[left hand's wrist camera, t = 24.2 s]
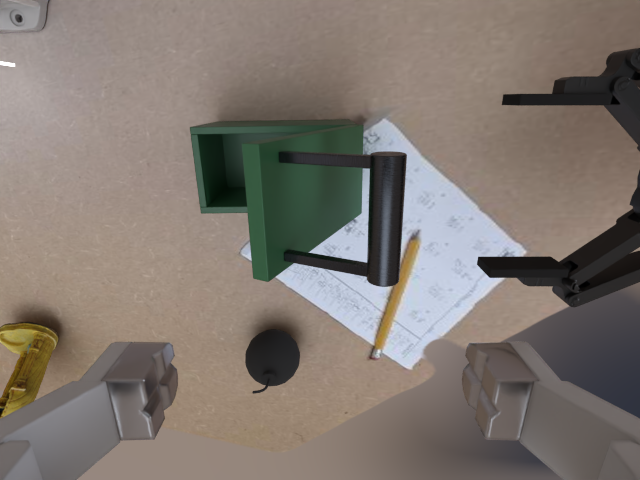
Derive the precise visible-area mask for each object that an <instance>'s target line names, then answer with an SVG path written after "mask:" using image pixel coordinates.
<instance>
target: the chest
mask: <svg viewBox="0 0 640 480" xmlns="http://www.w3.org/2000/svg"><path fill="white" fill-rule="evenodd" d="M347 125H357V124H355V123H354V122H352V121H351V120H349V119H338V120H281V121H224V122H213V123H208V124H203V125H198V126H194V127H190V132H191V140H192V148H193V155H194V163H195V171H196V178H197V186H198V194H199V201H200V209H201V213H248V210H247V199H246V187H245V175H244V164H243V152H242V143H246V142H252V141H258V140H264V139H270V138H276V137H282V136H288V135H294V134H300V133H306V132H312V131H318V130H324V129H330V128H336V127H342V126H347Z"/></svg>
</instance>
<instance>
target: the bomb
mask: <svg viewBox="0 0 640 480" xmlns="http://www.w3.org/2000/svg"><path fill="white" fill-rule="evenodd" d="M299 359H300V352H299V349H298V346H297V343H296V341H295V340H294V339H293V338H292V337H291V336H290V335H289V334H287V333H286V332H284V331H281V330H276V329H274V330H267V331H264V332H262V333H259V334H258V335H257V336H256V337H255V338H254V339H253V340H252V341H251V342H250V344H249V346H248V348H247V351H246V362H245V363H246V367H247V369H248V372H249V374H250V375H251V376H252V377H253V379H254V380H255V381H257V382H259V383H261V384H263V385H266V386H265V388H264V389H262V390H258V391H253V393H260V392H263V391H264V390H266V389H267V387H268V386H277V385H280V384H283V383H285V382H286V381H288V380H289V379H290V378H291V377H292V376H293V375H294V374H295V372H296V370H297V368H298V366H299Z"/></svg>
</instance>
